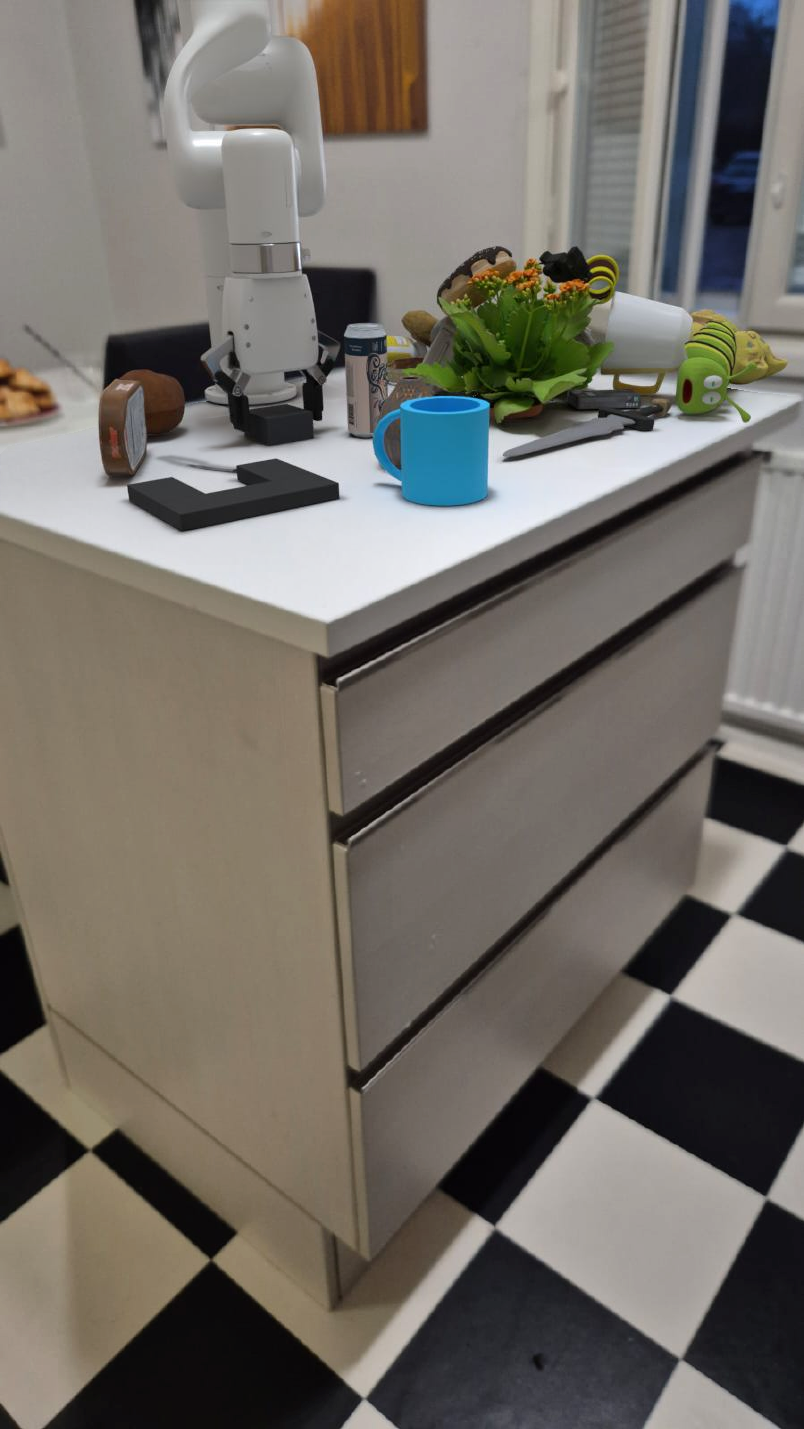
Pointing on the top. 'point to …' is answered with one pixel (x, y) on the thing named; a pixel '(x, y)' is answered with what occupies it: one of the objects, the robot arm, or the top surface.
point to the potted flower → (518, 343)
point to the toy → (708, 370)
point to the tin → (122, 427)
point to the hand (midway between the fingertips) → (278, 424)
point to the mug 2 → (644, 339)
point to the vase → (402, 392)
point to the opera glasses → (601, 277)
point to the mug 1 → (439, 449)
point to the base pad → (234, 495)
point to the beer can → (365, 376)
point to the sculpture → (419, 325)
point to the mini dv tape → (604, 399)
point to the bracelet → (402, 367)
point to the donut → (477, 263)
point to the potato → (160, 400)
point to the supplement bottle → (404, 348)
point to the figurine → (743, 350)
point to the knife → (213, 468)
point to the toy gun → (565, 266)
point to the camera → (441, 347)
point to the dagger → (598, 426)
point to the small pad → (280, 424)
